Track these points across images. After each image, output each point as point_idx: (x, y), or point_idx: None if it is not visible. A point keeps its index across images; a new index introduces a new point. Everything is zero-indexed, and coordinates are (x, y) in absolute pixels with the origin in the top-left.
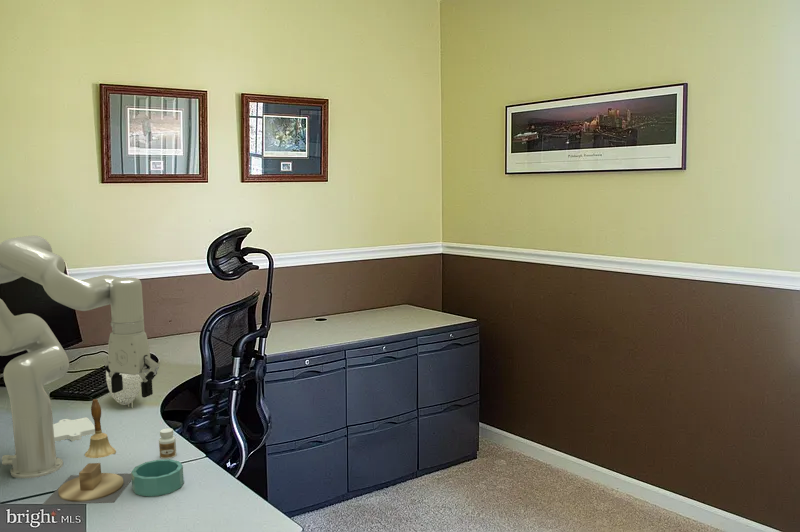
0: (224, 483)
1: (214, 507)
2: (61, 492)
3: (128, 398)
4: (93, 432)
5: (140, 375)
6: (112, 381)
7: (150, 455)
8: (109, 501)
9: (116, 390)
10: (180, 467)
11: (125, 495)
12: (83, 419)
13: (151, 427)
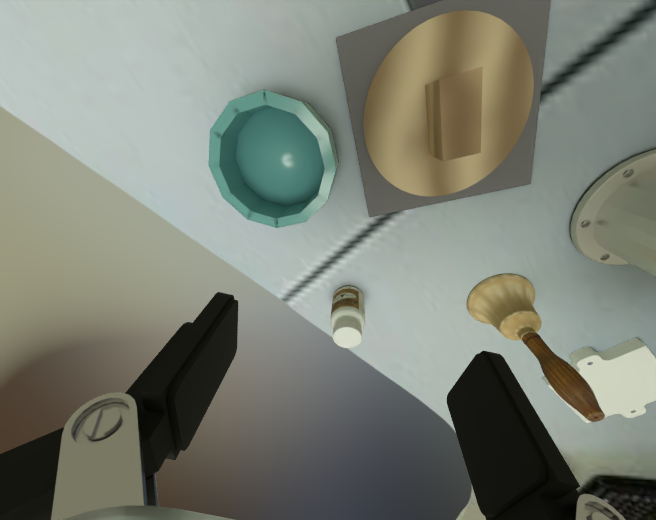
0: (167, 202)
1: (96, 78)
2: (515, 48)
3: None
4: None
5: (120, 491)
6: (538, 440)
7: (388, 302)
8: (351, 39)
9: (474, 373)
10: (218, 183)
11: (336, 102)
12: None
13: (443, 397)
